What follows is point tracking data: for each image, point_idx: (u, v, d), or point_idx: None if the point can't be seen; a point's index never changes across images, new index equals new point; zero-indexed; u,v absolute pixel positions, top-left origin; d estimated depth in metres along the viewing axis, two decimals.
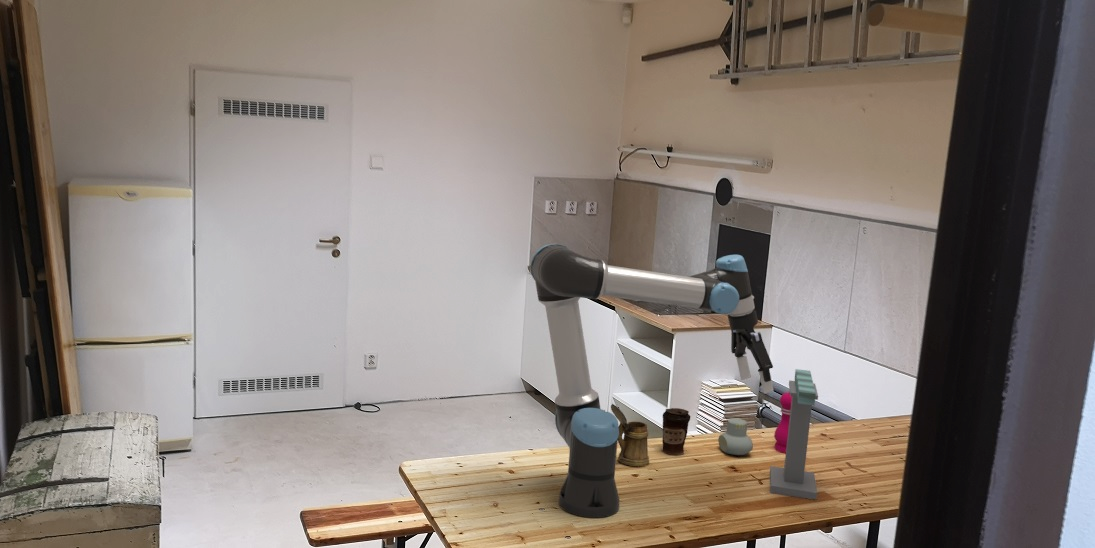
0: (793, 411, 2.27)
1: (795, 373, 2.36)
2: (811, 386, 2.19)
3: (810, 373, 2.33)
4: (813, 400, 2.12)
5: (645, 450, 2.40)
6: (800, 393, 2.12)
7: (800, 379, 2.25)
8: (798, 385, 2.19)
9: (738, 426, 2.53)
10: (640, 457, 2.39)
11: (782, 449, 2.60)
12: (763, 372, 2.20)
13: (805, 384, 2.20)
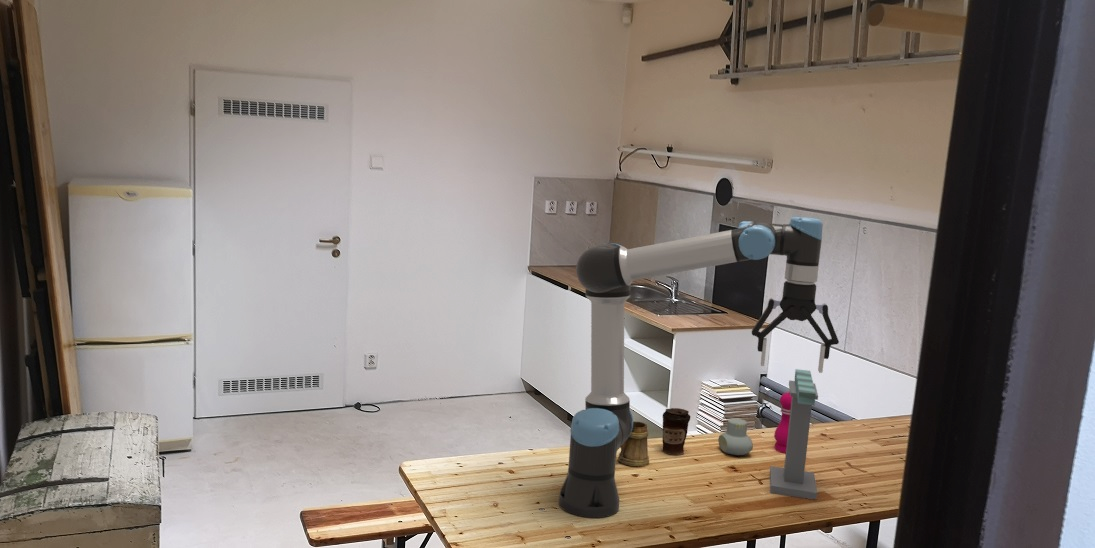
0: (793, 411, 2.27)
1: (795, 373, 2.36)
2: (811, 386, 2.19)
3: (810, 373, 2.33)
4: (813, 400, 2.12)
5: (645, 450, 2.40)
6: (800, 393, 2.12)
7: (800, 379, 2.25)
8: (798, 385, 2.19)
9: (738, 426, 2.53)
10: (640, 457, 2.39)
11: (782, 449, 2.60)
12: (827, 348, 2.00)
13: (805, 384, 2.20)
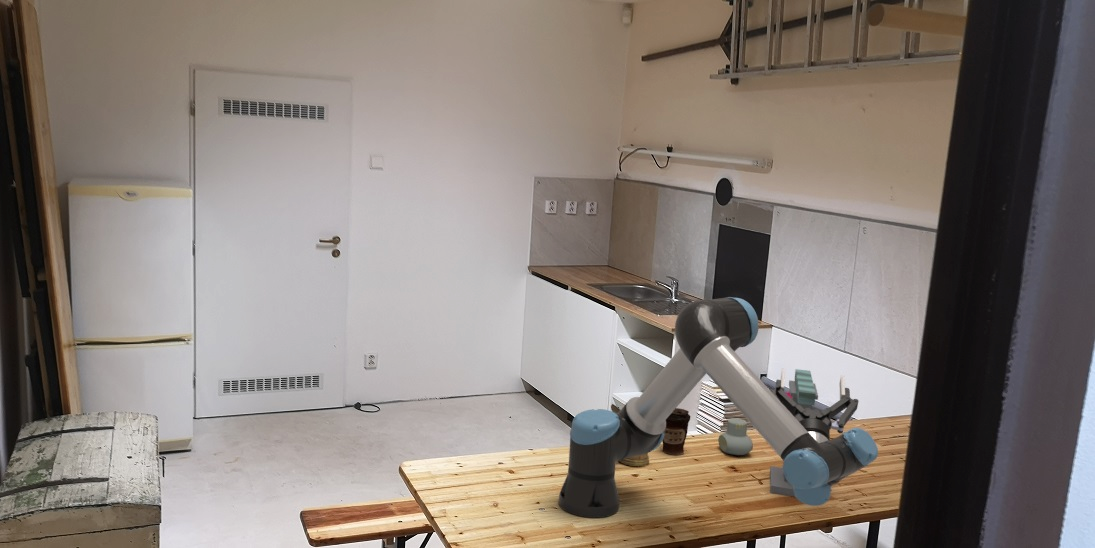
0: None
1: (795, 373, 2.36)
2: (811, 386, 2.19)
3: (810, 373, 2.33)
4: (813, 400, 2.12)
5: None
6: (800, 393, 2.12)
7: (800, 379, 2.25)
8: (798, 385, 2.19)
9: (738, 426, 2.53)
10: (640, 457, 2.39)
11: None
12: None
13: (805, 384, 2.20)
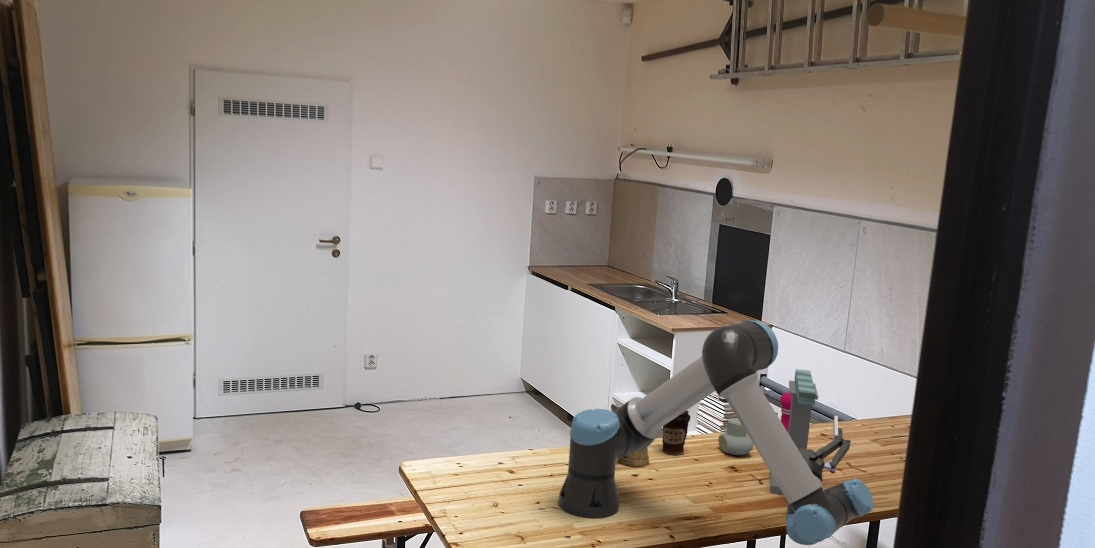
0: (793, 411, 2.27)
1: (795, 373, 2.36)
2: (811, 386, 2.19)
3: (810, 373, 2.33)
4: (813, 400, 2.12)
5: (645, 450, 2.40)
6: (800, 393, 2.12)
7: (800, 379, 2.25)
8: (798, 385, 2.19)
9: (738, 426, 2.53)
10: (640, 457, 2.39)
11: None
12: None
13: (805, 384, 2.20)
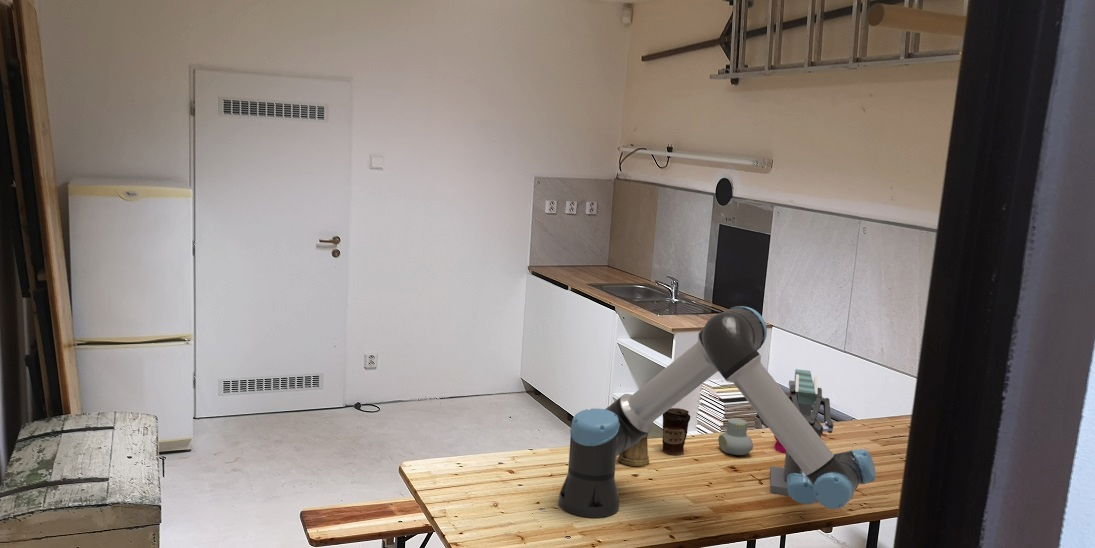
0: None
1: (795, 373, 2.36)
2: (811, 386, 2.19)
3: (810, 373, 2.33)
4: (813, 400, 2.12)
5: (645, 450, 2.40)
6: (800, 393, 2.12)
7: (800, 379, 2.25)
8: None
9: (738, 426, 2.53)
10: (640, 457, 2.39)
11: (782, 449, 2.60)
12: None
13: (805, 384, 2.20)
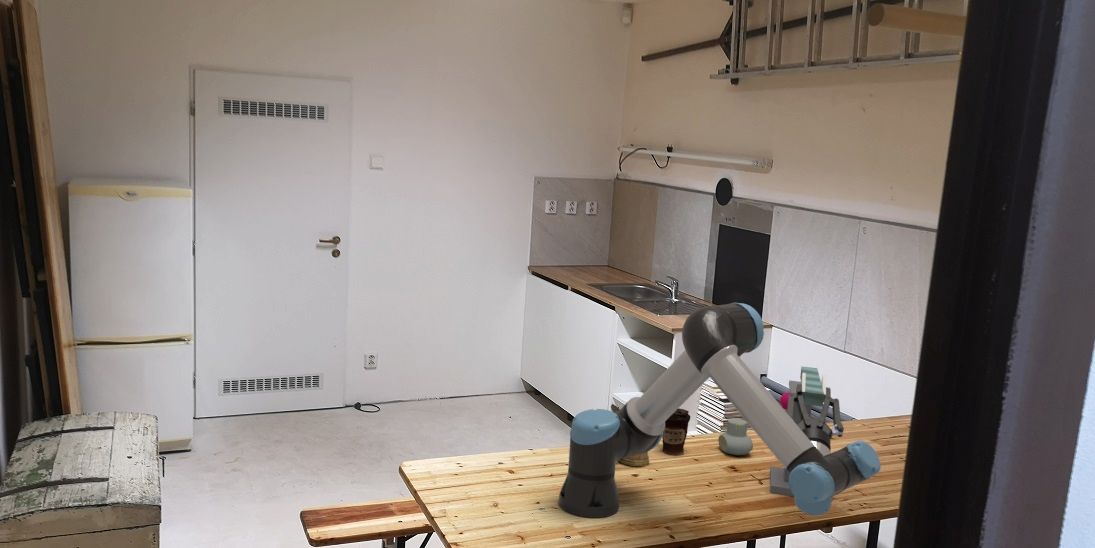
0: (793, 411, 2.27)
1: (801, 371, 2.20)
2: (819, 385, 2.02)
3: (817, 371, 2.17)
4: (821, 401, 1.95)
5: None
6: (807, 393, 1.96)
7: (807, 378, 2.09)
8: (805, 384, 2.02)
9: (738, 426, 2.53)
10: (640, 457, 2.39)
11: None
12: None
13: (812, 383, 2.04)
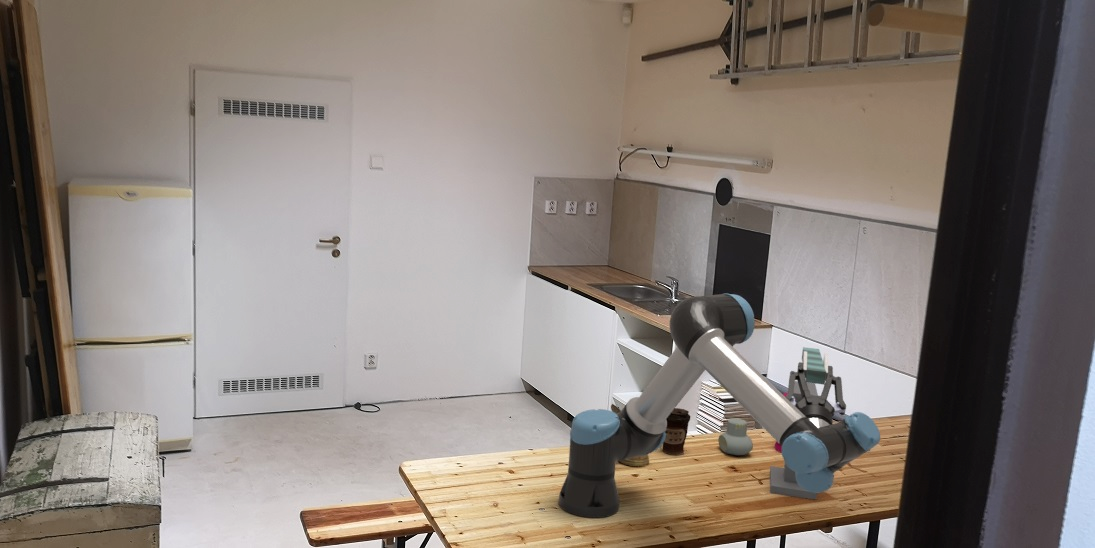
0: None
1: None
2: (821, 364, 1.98)
3: (819, 351, 2.13)
4: (823, 379, 1.91)
5: None
6: (809, 371, 1.92)
7: (808, 357, 2.05)
8: None
9: (738, 426, 2.53)
10: (640, 457, 2.39)
11: None
12: None
13: (814, 362, 2.00)
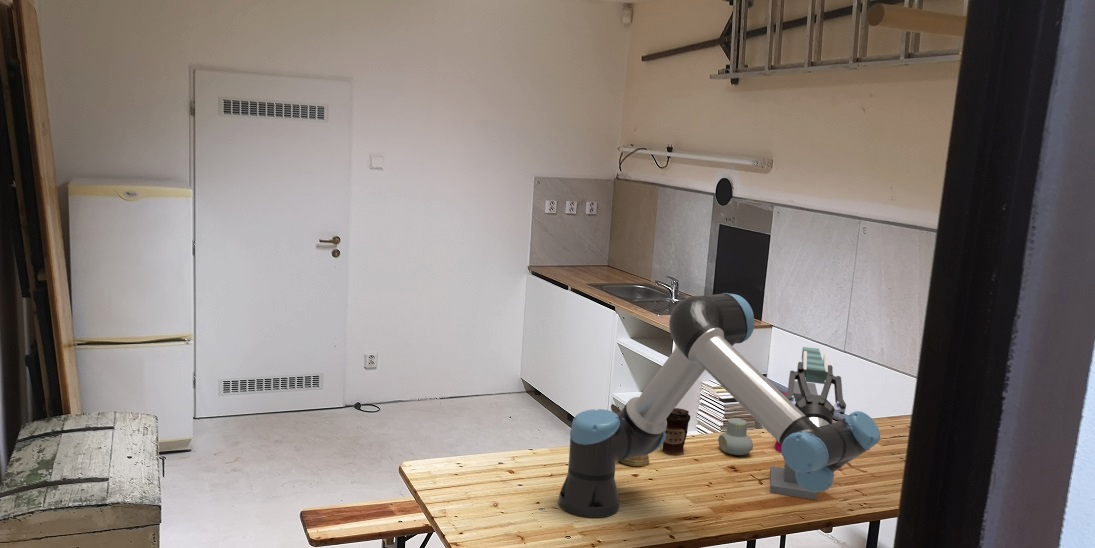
0: None
1: (802, 351, 2.15)
2: (820, 363, 1.98)
3: (819, 351, 2.13)
4: (823, 378, 1.91)
5: None
6: (809, 370, 1.92)
7: (808, 357, 2.05)
8: None
9: (738, 426, 2.53)
10: (640, 457, 2.39)
11: None
12: None
13: (814, 361, 2.00)
